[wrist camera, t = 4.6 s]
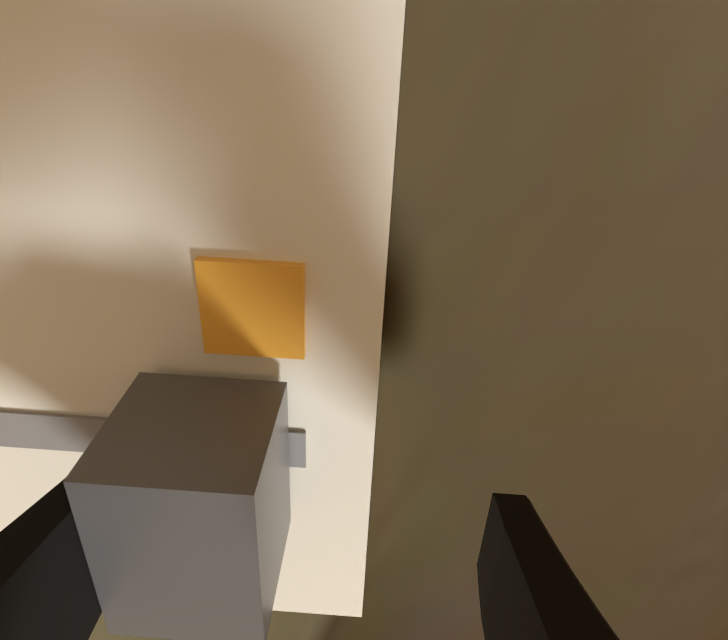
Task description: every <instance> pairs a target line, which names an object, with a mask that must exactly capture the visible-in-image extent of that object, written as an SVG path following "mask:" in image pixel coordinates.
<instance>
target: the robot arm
mask: <svg viewBox="0 0 728 640" xmlns="http://www.w3.org/2000/svg"><path fill="white" fill-rule="evenodd" d="M64 480H65V479H63V480H62V481H61V482H60V483H59V484H57V485H56V486H55V487H54V488H53V489H51V490H50V491H49V492H48V493H47V494H45V495H44V496H43V497H42V498H41V499H39V500H38V501H37V502H36V503H34V504H33V505H32V506H31V507H30V508H28V509H27V510H26V511H25V512H24V513H22V514H21V515H20V516H19V517H18V518H16V519H15V520H14V521H13V522H12V523H10V524H9V525H8V526H7V527H5V528H4V529H3V530H2V531H0V640H88V639H89V637H90V635H91V633H92V631H93V629H94V627H95V625H96V623H97V621H98V619H99V617H100V615H101V613H102V610H101V607H100V604H99V600H98V597H97V594H96V590H95V587H94V584H93V580H92V577H91V574H90V570H89V567H88V563H87V560H86V557H85V553H84V550H83V547H82V543H81V540H80V537H79V533H78V530H77V527H76V523H75V520H74V517H73V513H72V510H71V507H70V503H69V500H68V497H67V493H66V490H65V487H64V483H63V481H64ZM477 570H478V584H479V597H480V608H481V619H482V625H483V631H484V637H485V640H620V639H619V638H618V637H617V635H616V634H615V633H614V631H613V630H612V628H611V627H610V626H609V624H608V623H607V621H606V620H605V619H604V617H603V616H602V614H601V613H600V612H599V610H598V609H597V607H596V606H595V604H594V603H593V601H592V600H591V598H590V597H589V595H588V594H587V592H586V591H585V589H584V588H583V586H582V585H581V583H580V582H579V580H578V579H577V577H576V576H575V574H574V573H573V571H572V570H571V568H570V567H569V565H568V563H567V562H566V560H565V559H564V557H563V555H562V554H561V552H560V551H559V549H558V547H557V546H556V544H555V543H554V541H553V539H552V538H551V536H550V534H549V533H548V531H547V529H546V528H545V526H544V524H543V522H542V521H541V519H540V517H539V516H538V514H537V512H536V510H535V509H534V507H533V505H532V503H531V501H530V500H529V499H528V498H527V497H526V496H525V495H513V494H499V493H493V495H492V499H491V504H490V508H489V513H488V517H487V522H486V526H485V531H484V535H483V540H482V544H481V549H480V553H479V558H478V563H477Z"/></svg>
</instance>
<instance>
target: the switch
mask: <svg viewBox="0 0 728 640" xmlns="http://www.w3.org/2000/svg"><path fill="white" fill-rule="evenodd" d="M63 483H64V487H65V490H66V493H67V497H68V500H69V503H70V507H71V510H72V513H73V517H74V520H75V523H76V527H77V530H78V533H79V537H80V540H81V543H82V547H83V550H84V553H85V557H86V560H87V563H88V567H89V570H90V574H91V577H92V580H93V584H94V587H95V590H96V594H97V597H98V600H99V604H100V607H101V610H102V614H103V617H104V620H105V624H106V627H107V630H108V634H112V635H125V636H137V637H150V638H163V639H176V640H266V638H267V633H268V629H269V624H270V619H271V614H272V609H273V604H274V599H275V594H276V590H277V585H278V580H279V575H280V570H281V565H282V560H283V556H284V551H285V546H286V541H287V536H288V531H289V526H290V521H291V509H290V472H289V435H288V397H287V382H279V381H264V380H249V379H235V378H220V377H205V376H190V375H175V374H160V373H146V372H139V374H138V375H137V377H136V378H135V380H134V381H133V382H132V384H131V385H130V387H129V388H128V390H127V391H126V392H125V394H124V395H123V397H122V398H121V400H120V401H119V402H118V404H117V405H116V407H115V408H114V410H113V411H112V412H111V414H110V415H109V417H108V418H107V420H106V421H105V422H104V424H103V425H102V427H101V428H100V430H99V431H98V433H97V434H96V435H95V437H94V438H93V440H92V441H91V443H90V444H89V445H88V447H87V448H86V450H85V451H84V453H83V454H82V455H81V457H80V458H79V460H78V461H77V463H76V464H75V465H74V467H73V468H72V470H71V471H70V473H69V474H68V475H67V477H66V478H65V480H64V481H63Z"/></svg>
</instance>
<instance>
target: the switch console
mask: <svg viewBox="0 0 728 640" xmlns="http://www.w3.org/2000/svg"><path fill="white" fill-rule="evenodd" d="M405 2H406V0H0V531H2V530H3V529H4V528H5V527H7V526H8V525H9V524H10V523H12V522H13V521H14V520H15V519H16V518H18V517H19V516H20V515H21V514H22V513H24V512H25V511H26V510H27V509H28V508H30V507H31V506H32V505H33V504H34V503H36V502H37V501H38V500H39V499H41V498H42V497H43V496H44V495H45V494H47V493H48V492H49V491H50V490H51V489H53V488H54V487H55V486H56V485H57V484H59V483H60V482H61V481H62V480H63V479H65V478H66V477H67V475H68V474H69V473H70V471H71V470H72V468H73V467H74V465H75V464H76V463H77V461H78V460H79V458H80V457H81V455H82V454H83V453H84V451H85V450H86V448H87V447H88V445H89V444H90V443H91V441H92V440H93V438H94V437H95V435H96V434H97V433H98V431H99V430H100V428H101V427H102V425H103V424H104V422H105V421H106V420H107V418H108V417H109V415H110V414H111V412H112V411H113V410H114V408H115V407H116V405H117V404H118V402H119V401H120V400H121V398H122V397H123V395H124V394H125V392H126V391H127V390H128V388H129V387H130V385H131V384H132V382H133V381H134V380H135V378H136V377H137V375H138V374H139V372H146V373H160V374H175V375H190V376H205V377H220V378H235V379H249V380H264V381H279V382H287V397H288V435H289V472H290V509H291V521H290V526H289V531H288V536H287V541H286V546H285V551H284V556H283V560H282V565H281V570H280V575H279V580H278V585H277V590H276V594H275V599H274V604H273V609H272V610H276V611H289V612H302V613H316V614H329V615H342V616H355V617H362V606H363V592H364V578H365V563H366V549H367V535H368V521H369V507H370V493H371V479H372V465H373V451H374V437H375V423H376V409H377V395H378V381H379V367H380V353H381V339H382V325H383V311H384V297H385V283H386V269H387V255H388V241H389V226H390V212H391V198H392V184H393V170H394V156H395V142H396V128H397V114H398V100H399V86H400V72H401V58H402V44H403V30H404V16H405Z"/></svg>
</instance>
